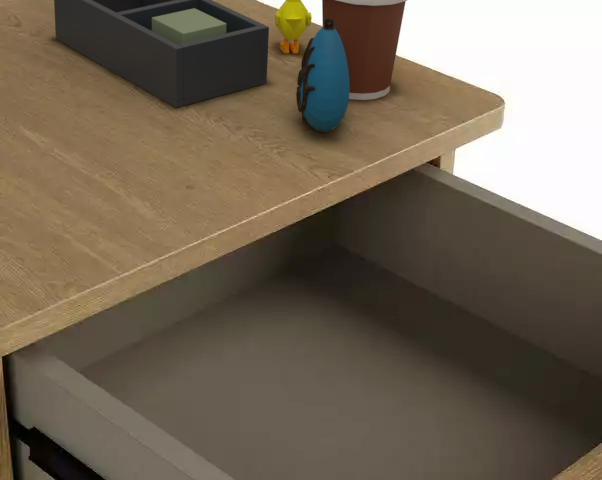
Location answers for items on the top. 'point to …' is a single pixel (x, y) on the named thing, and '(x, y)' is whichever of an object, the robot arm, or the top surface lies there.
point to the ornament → (323, 80)
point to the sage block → (187, 26)
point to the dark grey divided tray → (166, 47)
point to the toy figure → (292, 23)
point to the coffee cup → (367, 42)
